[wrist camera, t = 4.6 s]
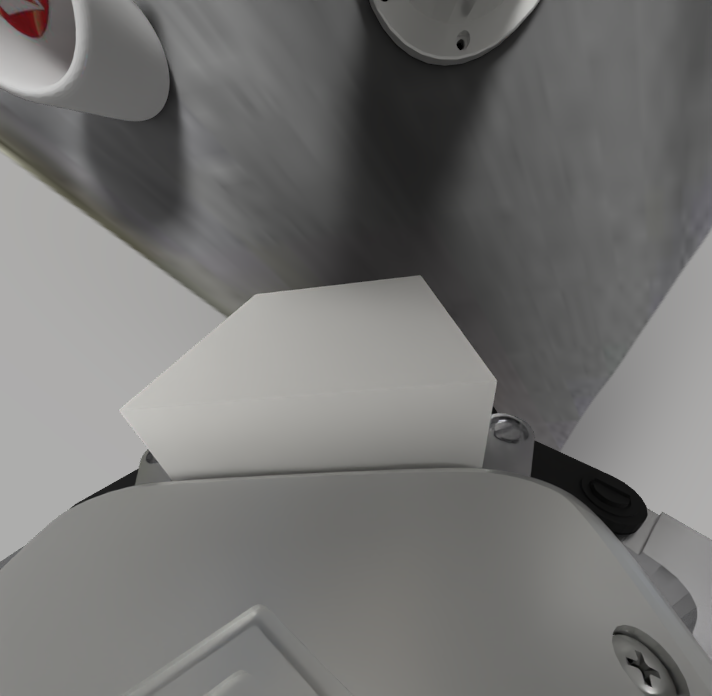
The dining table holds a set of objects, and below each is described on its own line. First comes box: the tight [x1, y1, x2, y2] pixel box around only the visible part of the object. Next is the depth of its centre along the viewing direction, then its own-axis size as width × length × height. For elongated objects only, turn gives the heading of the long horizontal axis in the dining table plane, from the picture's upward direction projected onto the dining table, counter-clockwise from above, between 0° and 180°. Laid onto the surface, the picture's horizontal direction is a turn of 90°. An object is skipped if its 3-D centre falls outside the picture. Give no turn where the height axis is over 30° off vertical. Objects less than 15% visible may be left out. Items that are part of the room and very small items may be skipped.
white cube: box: [119, 275, 497, 481], centre depth 10 cm, size 8×8×8 cm
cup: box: [0, 0, 170, 121], centre depth 14 cm, size 11×8×8 cm
